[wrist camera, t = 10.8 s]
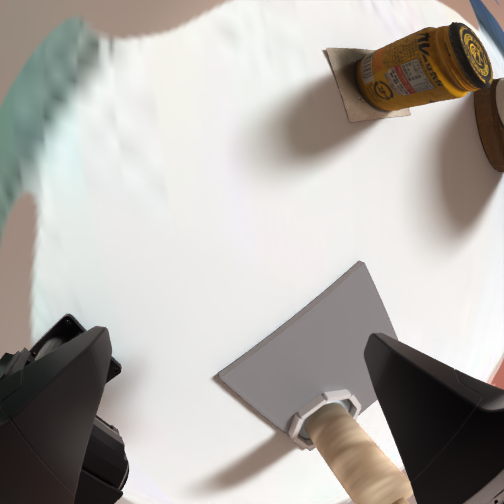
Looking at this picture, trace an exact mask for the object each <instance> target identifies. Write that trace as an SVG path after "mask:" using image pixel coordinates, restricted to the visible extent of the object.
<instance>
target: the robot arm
mask: <svg viewBox="0 0 504 504" xmlns="http://www.w3.org/2000/svg"><path fill="white" fill-rule="evenodd" d="M67 319H69V320H70V321H71V322H68V321H67ZM33 352H34V353H36V355H35V354H34V353H33ZM111 355H112V346H111V341H110V337H109V332H108V329H107V328H106V327H100V326H95V327H93V328H91V329H90V330H88V331H86V330H85V329H84V328H83V327H82V325H81V324H80V323H79V322H78V321H77V320H76V319H75V318H74V317H73V316H72V315H71V314H66V315H65V316H64V317H63V318H61V319H60V320H59V321H58V322H57V323H56V324H55V325H54V326H53V327H52V328H51V329H50V330H49V331H48V332H47V333H46V334H45V335H44V336H43V337H42V338H41V339H40V340H39V341H38V342H37V343H36V344H35V345H34V346H33V347H32V348H31V350H30V351H28V350H27V349H26V348H24V349H23V350H22V351H21V352H19V351H18V352H17V353H16V354H14V355H12V354H9V353H5V354H4V355H3V357H2V358H1V359H0V504H114V503H115V502H116V501H117V500H118V499H120V498H121V497H122V495H123V492H122V491H121V490H122V489H123V487H124V485H125V483H126V481H127V478H128V474H129V463H128V460H127V457H126V454H125V451H124V443H123V440H122V437H121V436H120V435H119V432H118V429H116V428H115V427H114V426H112V425H111V426H110V425H109V424H107V423H106V422H105V421H103V420H102V419H101V418H99V417H98V416H97V415H96V413H97V410H98V406H99V403H100V400H101V397H102V394H103V391H104V386H105V384H106V383H107V382H109V381H110V380H111V379H113V378H114V377H116V376H117V375H118V374H120V373H121V369H122V367H121V365H120V364H119V363H118V362H117V361H116V360H115V359H114V358H113V357H112V356H111ZM364 360H365V363H366V366H367V369H368V372H369V376H370V379H371V382H372V386H373V389H374V391H375V394H376V396H377V399H378V401H379V404H380V406H381V408H382V411H383V413H384V416H385V418H386V420H387V423H388V425H389V428H390V430H391V433H392V436H393V438H394V441H395V443H396V446H397V448H398V451H399V454H400V456H401V459H402V462H403V464H404V467H405V470H406V472H407V475H408V478H409V481H410V482H411V483H410V484H411V487H412V490H413V493H414V496H415V499H416V502H417V504H504V390H503V389H500V388H498V387H495V386H493V385H490V384H488V383H485V382H483V381H480V380H478V379H475V378H473V377H471V376H469V375H467V374H464V373H462V372H460V371H458V370H456V369H455V370H454V368H452V367H450V366H448V365H446V364H444V363H442V362H440V361H438V360H436V359H434V358H432V357H430V356H428V355H426V354H424V353H422V352H420V351H418V350H416V349H414V348H412V347H410V346H408V345H406V344H404V343H402V342H400V341H398V340H396V339H394V338H392V337H390V336H388V335H386V334H384V333H381V332H377V333H371V334H370V335H369V338H368V341H367V344H366V346H365V349H364ZM113 367H116V368H118V369H114V368H113Z"/></svg>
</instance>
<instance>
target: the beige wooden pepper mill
mask: <svg viewBox="0 0 504 504" xmlns="http://www.w3.org/2000/svg"><path fill="white" fill-rule="evenodd" d="M304 429H305V431H306V433H307V434H308V436H309V437H310V439H311V440H312V442H313V443H314V445H315V446H316V448H317V449H318V451H319V452H320V454H321V456H322V457H323V459H324V460H325V461H326V463H327V464H328V466H329V467H330V469H331V470H332V472H333V473H334V475H335V476H336V478H337V479H338V481H339V482H340V483H341V485H342V486H343V488H344V489H345V491H346V492H347V493H348V495H349V496H350V498H351V499H352V501H353V502H354V503H355V504H410V503H409V502H408V501H407V499H408V498H409V497H410V496H411V495H412V494H413V490H412V487H411V484H410V483H411V482H410V481H409V480H408V479H407V478H406V476H405V475H404V474H403V473H402V472H401V471H400V470H399V469H398V468H397V467H396V466H395V464H394V463H393V462H392V461H391V460H390V459H389V458H388V457H387V456H386V454H385V453H384V452H383V451H382V450H381V449H380V448H379V447H378V446H377V444H376V443H375V442H374V441H373V440H372V439H371V438H370V437H369V435H368V434H367V433H366V432H365V431H364V430H363V429H362V428H361V426H360V425H359V424H358V423H357V422H356V421H355V420H354V418H353V417H352V416H351V415H350V414H349V413H348V411H347V410H346V409H345V408H344V407H343V406H342V405H341V404H340V403H337V402H331V403H327V404H324V405H323V406H322V407H320V408H319V409H318V410H316V411H315V412H313V413H312V414H311V415H309V416H308V417H307V419H306V421H305V423H304Z"/></svg>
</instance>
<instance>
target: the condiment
mask: <svg viewBox="0 0 504 504" xmlns="http://www.w3.org/2000/svg"><path fill="white" fill-rule="evenodd" d="M326 50H327V53H328V55H329V60H330V62H331V65H332V68H333V71H334V75H335V77H336V80H337V83H338V86H339V91H340V93H341V95H342V98H343V101H344V105H345V108H346V110H347V114H348V117H349V120H350V122H357V121H364V120H371V119H379V118H388V117H398V116H408V115H411V113H410V110H409V108H410V107H414V106H420V105H425V104H429V103H434V102H438V101H445V100H450V99H455V98H461V97H464V96H465V95H466V94H467V93H468V91H470V92H471V91H476V90H478V89H486V88H489V87H490V86H491V84H492V82H493V72H492V67H491V63H490V60H489V57H488V55H487V52H486V50H485V49H484V46H483V44H482V43H481V41H480V40H479V38H478V37H477V36H476V34H475V33H474V32H473V31H472V30H471V29H470V28H469V27H467V26H466V25H465V24H463V23H457V22H455V23H454V22H452V24H451V25H449V26H442V27H438V28H434V27H427V28H424V29H422V30H420V31H417V32H415V33H413V34H410V35H408V36H406V37H404V38H402V39H400V40H397V41H395V42H393V43H391V44H389V45H387V46H385V47H383V48H380V49H378V50H364V49H355V48H354V49H349V48H326ZM355 61H356V62H355ZM358 97H360V99H359V98H358ZM362 99H363V100H364V101H362Z"/></svg>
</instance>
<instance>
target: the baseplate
mask: <svg viewBox="0 0 504 504" xmlns="http://www.w3.org/2000/svg"><path fill="white" fill-rule="evenodd" d="M377 332H381V333H384V334H386V335H388V336H390V337H392V338H394V339H396V340H398V339H397V336H396V333H395V331H394V328H393V326H392V324H391V321H390V319H389V316H388V314H387V312H386V309H385V307H384V305H383V302H382V300H381V298H380V295H379V293H378V291H377V289H376V287H375V284H374V282H373V280H372V278H371V276H370V273H369V271H368V269H367V267H366V265H365V263H364V262H361V261H358V262H357V263H356V264H355V265H354V266H353V267H352V268H350V269H349V270H348V271H347V272H346V273H345V274H344V275H343V276H341V277H340V278H339V279H338V280H337V281H336V282H334V283H333V284H332V285H331V286H330V287H329V288H327V289H326V290H325V291H324V292H323V293H322V294H320V295H319V296H318V297H317V298H316V299H314V300H313V301H312V302H311V303H310V304H308V305H307V306H306V307H305V308H303V309H302V310H301V311H300V312H298V313H297V314H296V315H295V316H294V317H292V318H291V319H290V320H288V321H287V322H286V323H285V324H283V325H282V326H281V327H280V328H278V329H277V330H276V331H274V332H273V333H272V334H271V335H269V336H268V337H267V338H265V339H264V340H263V341H261V342H260V343H259V344H257V345H256V346H255V347H253V348H252V349H251V350H249V351H248V352H247V353H245V354H244V355H243V356H241V357H240V358H238V359H237V360H236V361H234V362H233V363H232V364H230V365H229V366H227V367H226V368H225V369H223V370H222V371H220V372H219V373H218V374H219V377H220V379H221V380H222V381H223V382H225V383H226V384H227V385H228V386H229V387H230V388H231V389H232V390H234V391H235V392H236V393H237V394H238V395H239V396H240V397H242V398H243V399H244V400H245V401H246V402H247V403H249V404H250V405H251V406H252V407H253V408H255V409H256V410H257V411H258V412H260V413H261V414H262V415H263V416H264V417H266V418H267V419H268V420H269V421H271V422H272V423H273V424H275V425H276V426H277V427H278V428H280V429H281V430H282V431H284V432H285V433H286V434H288V435H289V436H290V437H291V439H292V441H294V442H295V443H297V444H298V445H299V446H301V447H302V448H304V449H305V448H306V449H308V450H309V451H311V450H313V449H314V448H316V446H315V445H314V443H313V442H312V440H311V439H310V437H309V436H308V434H307V433H306V431H305V429H304V423H305V421H306V419H307V417H308V416H309V415H311V414H312V413H313V412H315V411H316V410H318V409H319V408H320V407H322V406H323V405H324V404H327V403H331V402H337V403H340V404H341V405H342V406H343V407H344V408H345V409H346V410H347V411H348V413H349V414H350V415H351V416H352V417H353V418H354V420H356V418H357V416H358V415H360V414H361V413H362V412H363V411H364V410H366V409H367V408H368V407H369V406H370V405H371V404H373V403H374V402H375V401H376V400H377V396H376V394H375V391H374V389H373V386H372V382H371V379H370V376H369V372H368V369H367V366H366V363H365V360H364V349H365V346H366V344H367V341H368V338H369V335H370V334H371V333H377Z"/></svg>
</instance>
